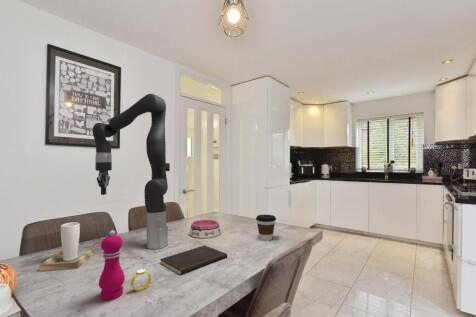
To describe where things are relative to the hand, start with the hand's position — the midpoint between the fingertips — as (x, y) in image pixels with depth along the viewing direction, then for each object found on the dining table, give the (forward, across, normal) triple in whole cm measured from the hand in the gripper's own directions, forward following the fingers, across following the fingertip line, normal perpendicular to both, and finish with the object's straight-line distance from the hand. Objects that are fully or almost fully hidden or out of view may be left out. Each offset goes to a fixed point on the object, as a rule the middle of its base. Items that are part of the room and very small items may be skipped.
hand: (103, 194), depth 128 cm
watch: (+25, -54, -29) cm, 66 cm away
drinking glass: (+25, -21, +6) cm, 33 cm away
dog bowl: (+26, +5, -53) cm, 59 cm away
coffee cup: (+25, -12, -84) cm, 89 cm away
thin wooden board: (+25, -23, +5) cm, 35 cm away
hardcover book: (+26, -34, -46) cm, 63 cm away
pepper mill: (+25, -56, -21) cm, 65 cm away
